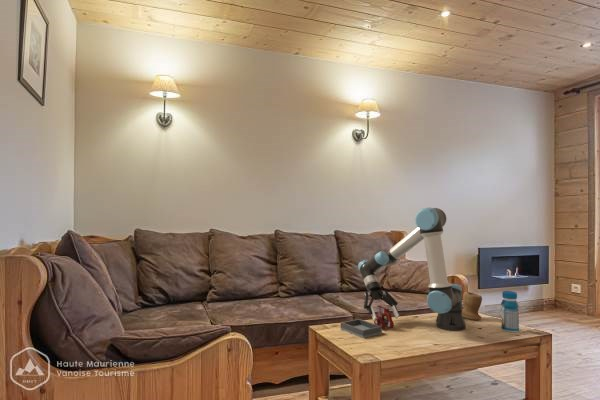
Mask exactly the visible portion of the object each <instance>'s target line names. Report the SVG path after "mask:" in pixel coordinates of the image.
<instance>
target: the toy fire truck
mask: <svg viewBox="0 0 600 400" xmlns="http://www.w3.org/2000/svg"><path fill="white" fill-rule="evenodd" d="M376 311H377V312H376V317H377V318H376V320H375V321H374V320H373V324H376V325H378V326H381V327H382V330H384V329H386V328H389V329H393V328H394V326H395V323H394V321H393V317H392V314H391V312H390V309H389V308H387V307H383V306H382V305H377V306H376Z"/></svg>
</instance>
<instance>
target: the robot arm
mask: <svg viewBox="0 0 600 400" xmlns="http://www.w3.org/2000/svg"><path fill="white" fill-rule="evenodd" d="M447 219H448V218H447V215H446V213H445V211H444V210H442V209H440V208H438V207H425V208H421V209H419V211H418V212H417V213H416V214H415V217H414V222H415V225H416V227H415V228H413V230H412V231H410V232H409V233H408V234H406V235H404V237H402V239H401V240H400V241H398V242H397V243H396V244H395V245H393V246H392V247H391V248H390V249H389V250H387V251H386V252H385V251H383V250H381V251H379V252H377V253H375V255H373V256H372V257H371V258H370V259H368V260H367V259H363V260H362V261H360V262H358V264H357V268H358V271H359V273H360V276H361V278H362V280H363V283H364V285H365V288H366V290H367V291H365V292H364V294H363V296H364V301H363V309H365V310H366V311H368V313H369V315H370V316H371V317H372V320H373V322H374V321H375V320H376V318H377V314H376V313H375V310H374V308H373V306H372V305H373V303H374V301H377V300H380V301H383V302H384V303H386V304H388V306H390V307H391V311H392V313H393V315H394V317H395V319H398V318H399V317H400V314H399V312H398V310H399V309H398V308H397V305H398V304H399V302H397V300H396V299H394V298H393V296H392V295H391V294H390V293H389V291H388V290H387V289H385V290H382V287H381V285H380V283H379V280H378V278H377V276H376V273H377V272H378V271H379V270H380V269H381V268H385V267H388V266H393V265H395V264H396V263H397V262H398V260H399V259H400V258H402V257H403V256H404V255H406V253H408V252H409V251H411V250H412V249H413V248H414V247H415V246H417V245H418V244H419V243H421V242H422V241H424V248H425V254H426V262H427V269H428V275H429V282H430V283H429V284H428V286H427V288H428V294H427V297H426V303H427V304H426V305H427V306H428V307H429V309H430V310H431V311H432V312H434V313H436V314H437V316H436V319H435V327H438V328H440V329H443V330H447V331H464V330H466V327H467V326H466V321H465V318H464V317H463V315H462V310H463V289H462V285H461V284H455V283H450V282H449V281H448V273H447V267H446V259H445V254H444V247H443V241H442V235H443V233H444V228H443V227H444V226H445V225H446V223H447ZM369 297H370V300H369ZM368 302H369V303H368Z"/></svg>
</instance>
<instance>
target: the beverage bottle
mask: <svg viewBox="0 0 600 400" xmlns="http://www.w3.org/2000/svg"><path fill="white" fill-rule="evenodd" d="M502 298H503V299H502V300H501V303H500V305H501V307H500V313H501V324H500V325H501V326H500V327H501V330H502V331H504V330H505V331H504V332H507V331H508V333H518V332H520V326H519V325H520V321H519V315H520V310H519V307H520V305H519V303H518V301H517V299H518V294H517V291H511V290H503V291H502Z"/></svg>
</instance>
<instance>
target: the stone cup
mask: <svg viewBox="0 0 600 400" xmlns="http://www.w3.org/2000/svg"><path fill="white" fill-rule="evenodd" d="M482 301H483V297H482V295H481V294H479V293H474V292H470V291H464V292H463V293H462V307H463V308H462V315H463V318H464V319H468V320H473V321H474V320H475V321H478V320H481V319H483V317H482V316H481V315H480V314H479V309H480V307H481V305H482Z"/></svg>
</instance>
